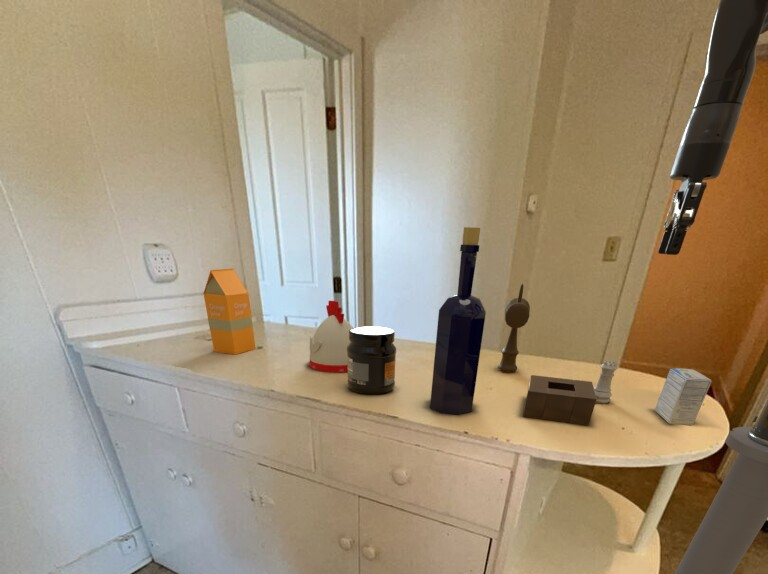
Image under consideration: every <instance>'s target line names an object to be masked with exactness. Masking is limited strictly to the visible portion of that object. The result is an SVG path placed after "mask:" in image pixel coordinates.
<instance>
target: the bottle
mask: <svg viewBox="0 0 768 574" xmlns="http://www.w3.org/2000/svg"><path fill="white" fill-rule="evenodd" d="M480 235H481V227H470V226H469V227H468V226H467V227H465V226H464V227H463V233H462V244H460V246H459V247H460V249H459V252H460V262H459V263H460V264H459V272H458V273H459V274H458V285H457V294H453V295H450V296H447V298H446V299H445V300H444V302H443V303H442V304H441V306H440V307H439V309H438V317H437V326H436V338H435V347H434V348H435V349H434V357H433V358H434V360H433V371H432V381H431V391H430V404H429V407H428V408H429V409H431V410H433V411H435V412H438V413H439V414H446V415H457V416H459V415H460V416H461V415H464V414H469V413H472V412H473V405H474V397H475V391H476V384H477V377H478V371H479V363H480V357H481V356H480V355H481V349H482V342H483V334H484V329H485V322H486V314H487V311H486V308H485V306H484V304H483V302H482V300H481V298H479V297H477V296H475V295H472V291H473V284H474V279H475V278H474V277H475V272H476V271H475V270H476V263H477V258H478V257H477V256H478V253H480V245H479V240H480Z"/></svg>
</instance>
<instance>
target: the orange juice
mask: <svg viewBox="0 0 768 574" xmlns="http://www.w3.org/2000/svg"><path fill="white" fill-rule="evenodd" d="M204 287H205V288H204V290H203V293H202V294H203V299H204V304H205V309H206V315H207V323H208V327H209V331H210V332H209V333H210V338H211V343H212V348H213V352H216V353H222V354H228V355H234V356H235V355H239V354H243V353H245V352H246V353H247V352H250V351H253V350H255V349H256V341H255V335H254V333H255V332H254V324H253V316H252V310H251V304H250V296H249V295H250V294H249V292H248V290H247V289H246V287H245V285H244V284H243V282H242V281H241V278H240V277H239V276H238V274H237V272H236V271H235V268H223V269H222V268H221V269H211V270H209V273H208V277H207V281H206V284H205V286H204Z"/></svg>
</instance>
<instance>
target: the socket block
mask: <svg viewBox="0 0 768 574" xmlns="http://www.w3.org/2000/svg"><path fill="white" fill-rule="evenodd" d="M593 384H594V383H593V381H588V380H580V379H570V378H561V377H553V376H543V375H536V374H535V375H534V374H531V375H530V379H529V384H528V388H527V393H526V397H525V402H524V407H523V409H524V410H523V414H522V417H524V418H531V419H538V420H545V421H546V420H547V421H553V422H559V423H560V422H562V423H569V424H575V425H583V426H590V423H591V420H592V415H593V413H594V409H595V406H596V404H597V403H596V400H597V399H596V395H595V391H594V387H595V386H594V385H593Z"/></svg>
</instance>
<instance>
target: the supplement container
mask: <svg viewBox="0 0 768 574" xmlns="http://www.w3.org/2000/svg"><path fill="white" fill-rule="evenodd" d="M395 334H396V332H395V330H393V329H391V328H388V327H384V326H383V327H382V326H357V327H353V328H352V329H350V330H349V340H350V343H349V345H348V346H347V361H348V372H347V386H348V388H349V389H350V390H352V391H353V392H356V393H359V394H364V395H382V394H385V393H389V392H390V391H392V390H393V389H394V387H395V385H396V381H395V379H396V358H397V357H396V355H397V346H396V345H395V344H394V342H395V339H396V338H395V336H396V335H395Z"/></svg>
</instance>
